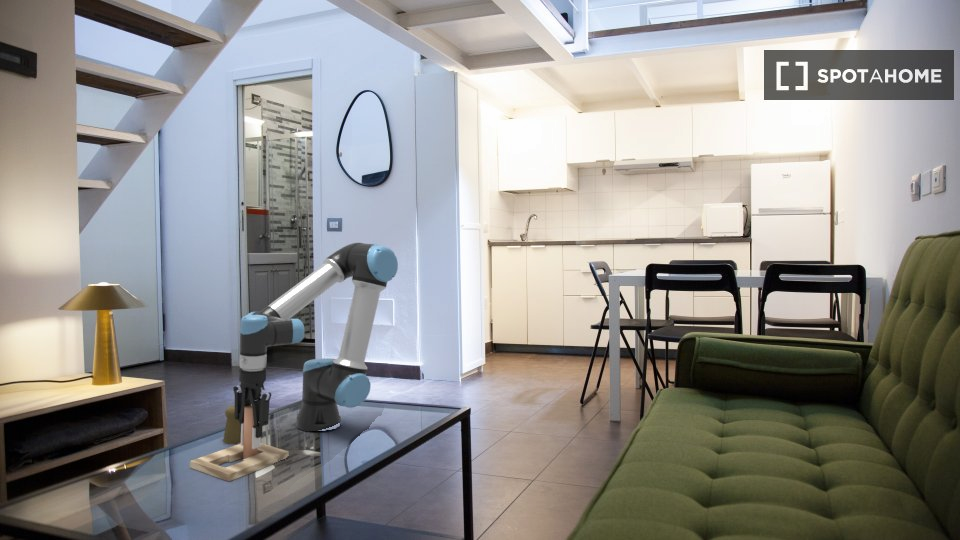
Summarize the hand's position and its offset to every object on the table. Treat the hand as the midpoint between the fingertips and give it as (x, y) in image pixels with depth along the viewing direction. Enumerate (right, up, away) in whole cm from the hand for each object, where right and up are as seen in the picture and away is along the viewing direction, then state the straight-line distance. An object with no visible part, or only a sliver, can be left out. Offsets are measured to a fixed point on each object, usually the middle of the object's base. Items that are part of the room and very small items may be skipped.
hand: (250, 445), depth 202 cm
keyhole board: (-2, -4, -3) cm, 5 cm away
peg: (0, -3, 0) cm, 3 cm away
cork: (-10, -2, +15) cm, 18 cm away
